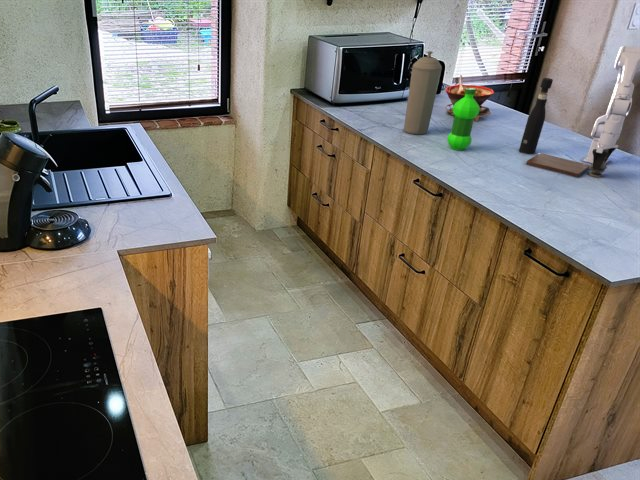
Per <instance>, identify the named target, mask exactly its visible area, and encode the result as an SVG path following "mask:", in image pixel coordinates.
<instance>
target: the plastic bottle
mask: <svg viewBox="0 0 640 480" xmlns="http://www.w3.org/2000/svg"><path fill="white" fill-rule="evenodd" d="M475 92H476V89H475V88H465V92H464V93H465V97H464V98H462V99H460V100H459V101H458V102H456V103H455V104H454V106H453V105H452V108H453V113H454V115H455V117H454V116H453V121H452V126H451V131H450V133H449V134H448V136H447V143H448V145H449V147H450V148H451V149H452V150H454V151H463V150H465V149H467V148H468V147H470V145H471V143H472V140H473V139H472V135H471V133H472V130H473V126H474V122H475V121H474V118H476V116H478V113H479V110H480V108H479V105H478V104H477V102H476V101H475V100H474V99H473V95H474V94H475Z"/></svg>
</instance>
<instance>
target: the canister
mask: <svg viewBox="0 0 640 480" xmlns="http://www.w3.org/2000/svg"><path fill="white" fill-rule="evenodd" d="M426 53H427V56H423V57H419V59H417V61H415V62H414V63H413V64H412V66H411V67H412V68H411V76H410V82H409V88H408V95H407V101H406V102H407V104H406V111H405V118H404V124H403V131H404V132H405V133H407V134H412V135H425V134H427V133H428V132H429V128H430V123H431V119H432V114H433V110H434V104H435V102H436V101H435V100H436V96H437V91H438V86H439V83H440V77H441V73H442V70H443V67H442V64H441V63H440V60H439V59H437V58H436V57H433V56H431V55H432V54H434V51H431V50H428V51H426Z"/></svg>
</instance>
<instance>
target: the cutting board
mask: <svg viewBox="0 0 640 480" xmlns="http://www.w3.org/2000/svg"><path fill="white" fill-rule="evenodd" d="M526 165H527V166H531V167H535V168H538V169H542V170H546V171H551V172H554V173H558V174H562V175H565V176H570V177H574V178H579V177H581V175H583V174H584V173H586V172H587V171H588V170H590V164H588V163H583V162H579V161H575V160H572V159H567V158H563V157H559V156H555V155H551V154H548V153H547V154H546V153H543V152H539V153H538V154H536V155H534V156H533V157H530V159H528V160H526Z"/></svg>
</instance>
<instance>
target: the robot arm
mask: <svg viewBox="0 0 640 480" xmlns="http://www.w3.org/2000/svg"><path fill="white" fill-rule="evenodd" d="M614 69H615V70H616V71H617V79H616V82H615V85H614V88H613V91H612V94H611V97H610V101H609V104H608V106H607V110H606V112H605V114H603V115H601V116H599V117H597V118H596V120H595V122H594V124H593V126H592V129H591V133H590V137H591V138H592V141H591V144H590V147H589V150H588V153H587V156H586V157H584V158H583V159H582V162H585V163H590V164H593V168H594V169H599V168H600V166H601V165H602V163H603V161H604V159H605V158H606V157H607V158H606V159H605V162H604V166H606V164H607V163H609V162H610V161H611V159H610V156H611V155H612V154H613V153H614V151H616V150H617V148H619V144H617V141H618V140H619V138H620V136H621V133H622V130H623V126H624V122H625V119H626V117H627V116H628V115H629V113H630V111H631V108H632V103H633V97H632V96H633V93H634V89H635V84H634V83H633V81H634V77H635V75H636V73H638V72H640V47H638V46H625V45H622V46H620V48H619V50H618V52H617V56H616V59H615V62H614ZM605 149H609V150H608V153H606V152H605Z"/></svg>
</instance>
